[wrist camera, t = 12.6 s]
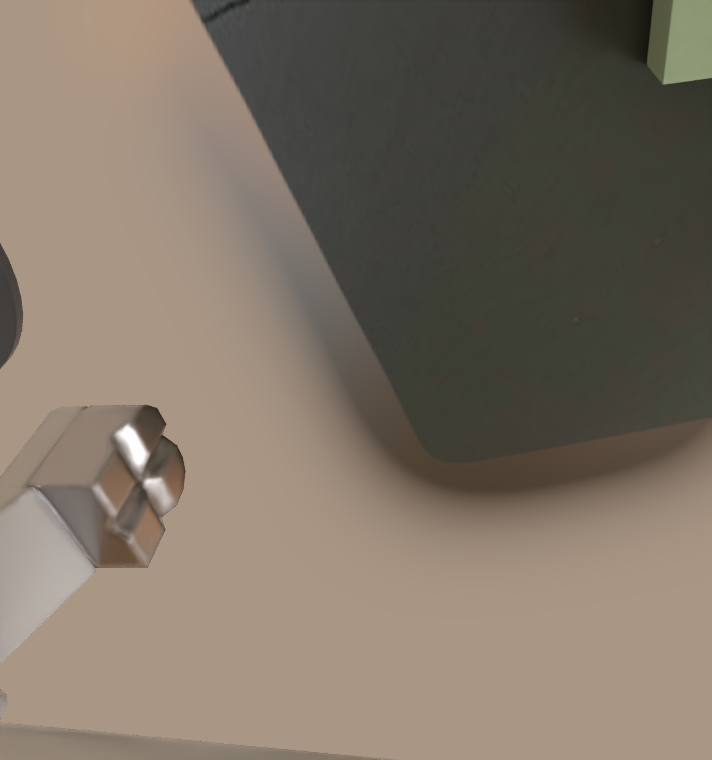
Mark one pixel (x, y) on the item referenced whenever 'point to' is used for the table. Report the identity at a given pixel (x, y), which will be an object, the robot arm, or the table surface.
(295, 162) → the table surface
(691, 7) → the sage block
